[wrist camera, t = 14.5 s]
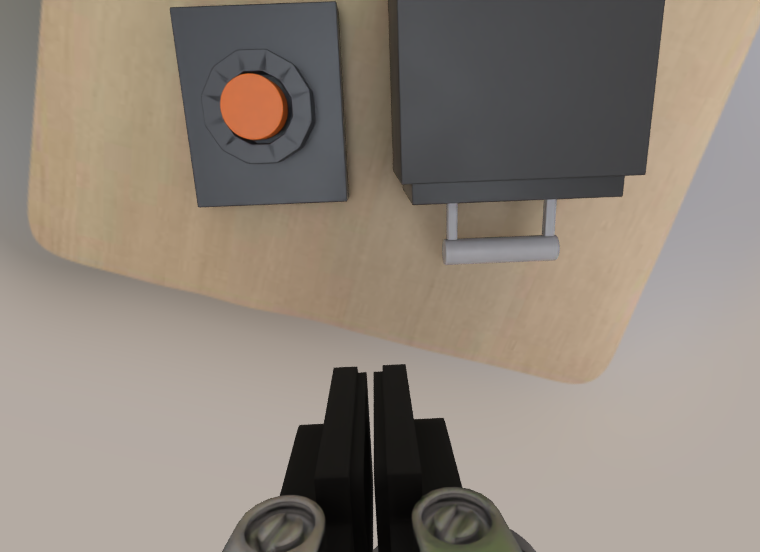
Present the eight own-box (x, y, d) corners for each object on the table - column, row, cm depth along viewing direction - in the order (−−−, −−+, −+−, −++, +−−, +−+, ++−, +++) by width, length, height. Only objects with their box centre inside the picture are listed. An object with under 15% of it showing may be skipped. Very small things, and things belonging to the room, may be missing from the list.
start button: (290, 138, 30) (285, 138, 28) (232, 140, 30) (224, 141, 28) (285, 75, 29) (280, 71, 27) (224, 77, 29) (215, 74, 27)
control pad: (348, 197, 35) (346, 205, 31) (208, 203, 35) (187, 211, 31) (338, 9, 31) (334, -8, 27) (182, 15, 31) (156, -1, 27)
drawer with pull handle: (562, 243, 35) (615, 273, 27) (404, 250, 35) (413, 281, 27) (582, -40, 30) (652, -98, 22) (397, -33, 30) (406, -89, 22)
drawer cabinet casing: (571, 164, 34) (645, 174, 25) (393, 171, 34) (401, 184, 25) (588, -77, 30) (684, -170, 21) (385, -70, 30) (392, -160, 21)
